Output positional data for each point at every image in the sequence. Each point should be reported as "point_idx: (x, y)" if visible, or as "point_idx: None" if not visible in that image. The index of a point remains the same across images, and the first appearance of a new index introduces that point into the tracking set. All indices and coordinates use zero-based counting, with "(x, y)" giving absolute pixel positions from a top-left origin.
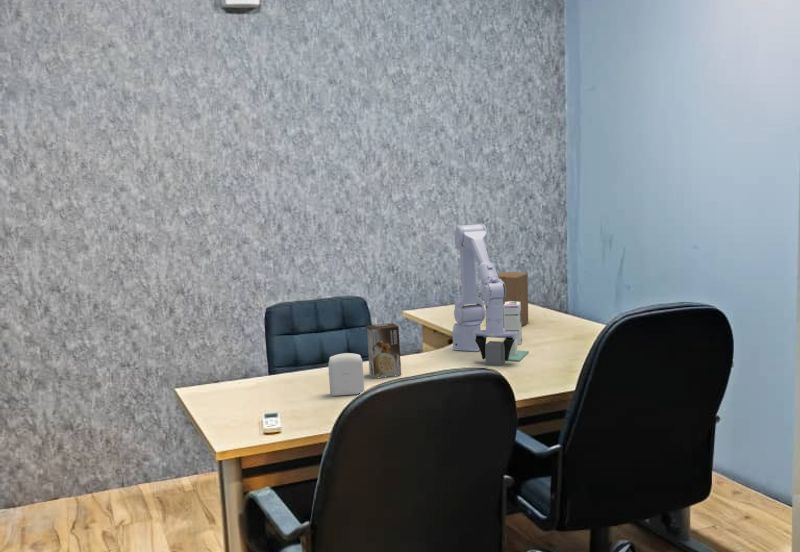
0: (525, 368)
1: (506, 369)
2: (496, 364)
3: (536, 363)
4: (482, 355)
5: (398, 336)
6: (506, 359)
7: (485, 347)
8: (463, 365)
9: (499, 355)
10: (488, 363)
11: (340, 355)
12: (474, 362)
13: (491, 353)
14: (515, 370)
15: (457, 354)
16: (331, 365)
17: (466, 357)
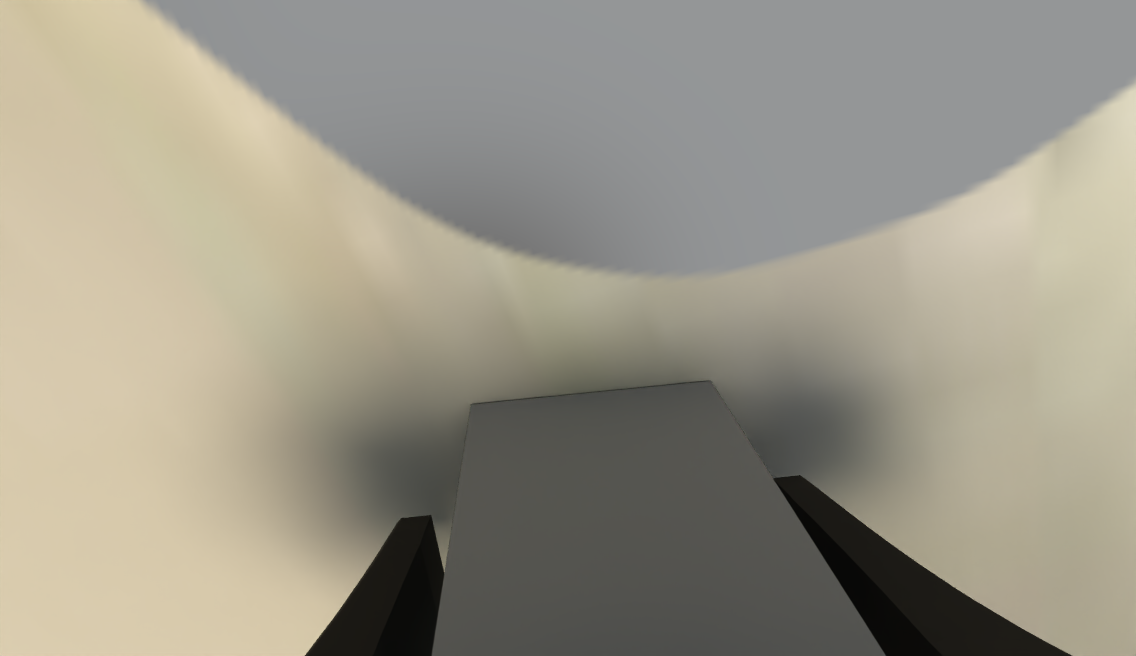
0: (44, 404)
1: (289, 254)
2: (542, 408)
3: (92, 642)
4: (830, 509)
5: None
6: (395, 528)
7: (859, 627)
8: (1040, 254)
9: (481, 523)
10: (672, 400)
11: None
12: (891, 442)
13: (658, 528)
14: (105, 244)
15: (1113, 641)
16: None
17: (1010, 585)
